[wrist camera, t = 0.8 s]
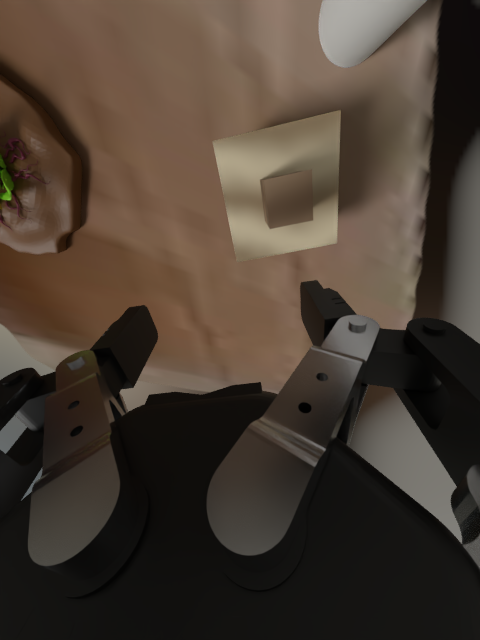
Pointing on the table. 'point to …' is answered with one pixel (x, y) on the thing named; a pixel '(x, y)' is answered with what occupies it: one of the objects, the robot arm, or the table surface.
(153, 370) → the table surface
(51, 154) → the plant
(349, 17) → the cylindrical container
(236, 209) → the oak lid
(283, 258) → the table surface
